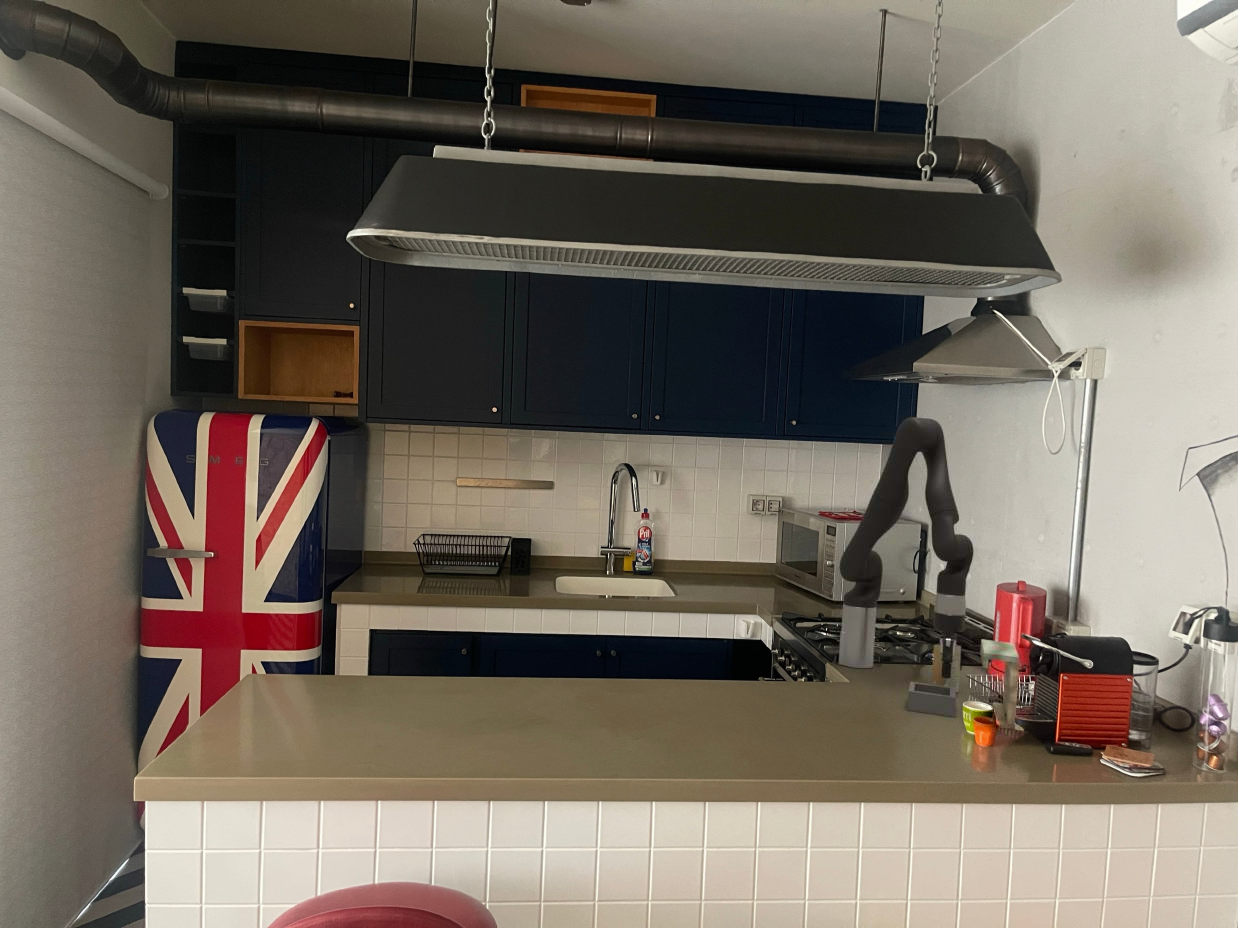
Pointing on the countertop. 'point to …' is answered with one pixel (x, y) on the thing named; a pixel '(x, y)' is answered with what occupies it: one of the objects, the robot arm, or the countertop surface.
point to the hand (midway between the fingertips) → (946, 674)
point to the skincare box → (937, 668)
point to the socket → (932, 699)
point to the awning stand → (1011, 658)
